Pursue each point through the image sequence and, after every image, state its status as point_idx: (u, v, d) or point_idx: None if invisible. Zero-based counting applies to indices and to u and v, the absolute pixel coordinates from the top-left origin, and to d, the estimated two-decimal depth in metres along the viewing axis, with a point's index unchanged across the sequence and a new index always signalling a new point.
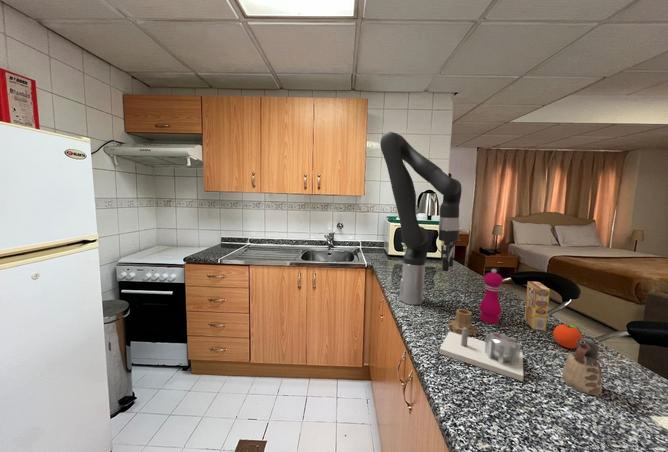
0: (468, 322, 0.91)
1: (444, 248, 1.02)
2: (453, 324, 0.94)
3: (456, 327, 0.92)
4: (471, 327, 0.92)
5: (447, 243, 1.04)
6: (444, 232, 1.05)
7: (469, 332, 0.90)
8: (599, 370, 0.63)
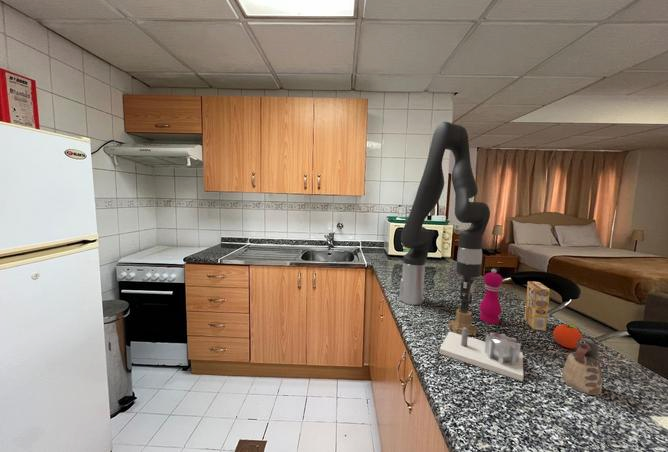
0: (468, 322, 0.91)
1: (464, 285, 0.86)
2: (453, 324, 0.94)
3: (456, 327, 0.92)
4: (471, 327, 0.92)
5: (467, 279, 0.88)
6: (464, 265, 0.89)
7: (469, 332, 0.90)
8: (599, 370, 0.63)
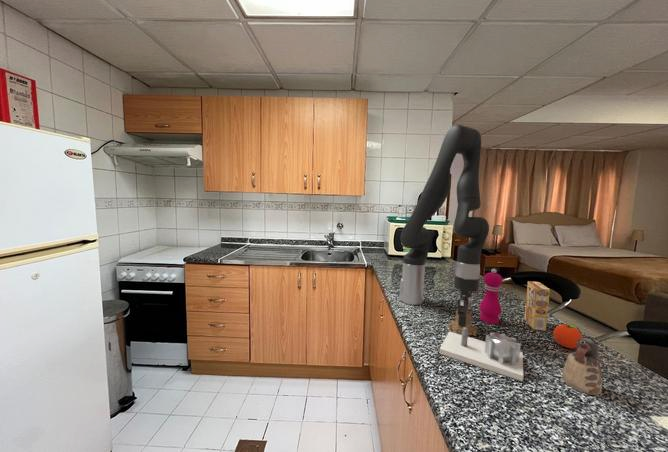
0: (468, 322, 0.91)
1: (461, 304, 0.87)
2: (453, 324, 0.94)
3: (456, 327, 0.92)
4: (471, 327, 0.92)
5: (465, 293, 0.89)
6: (462, 280, 0.89)
7: (469, 332, 0.90)
8: (599, 370, 0.63)
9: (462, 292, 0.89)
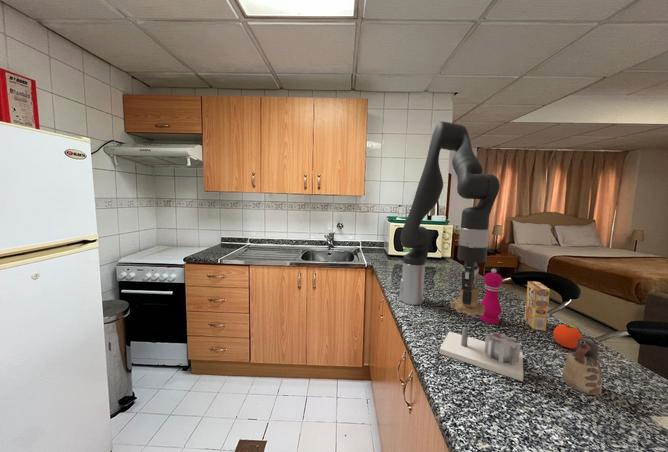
0: (474, 299, 0.77)
1: (466, 276, 0.73)
2: (456, 303, 0.80)
3: (460, 306, 0.78)
4: (478, 306, 0.78)
5: (470, 265, 0.75)
6: (467, 249, 0.75)
7: (476, 311, 0.76)
8: (599, 370, 0.63)
9: (467, 263, 0.75)
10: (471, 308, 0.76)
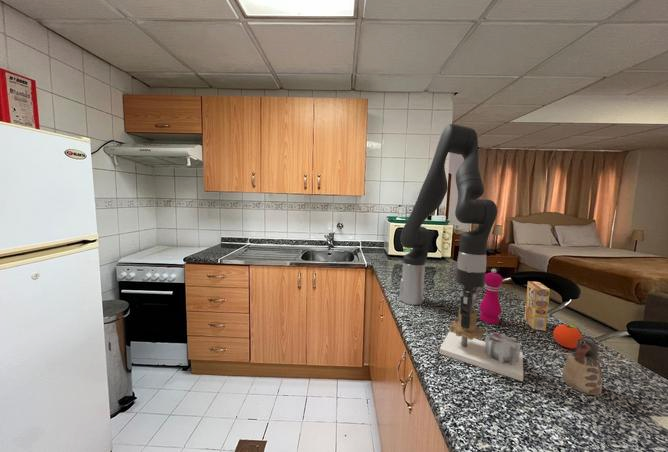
0: (473, 323, 0.77)
1: (465, 301, 0.74)
2: (455, 325, 0.80)
3: (459, 329, 0.78)
4: (476, 329, 0.79)
5: (468, 289, 0.75)
6: (465, 274, 0.76)
7: (474, 335, 0.76)
8: (599, 370, 0.63)
9: (465, 288, 0.76)
10: (470, 332, 0.77)
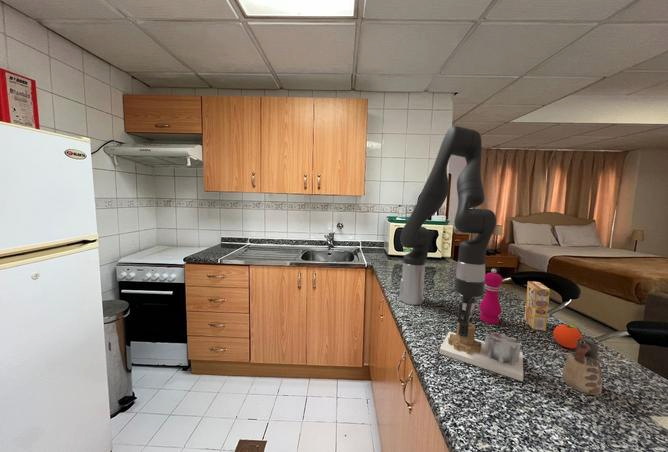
0: (471, 337, 0.78)
1: (463, 307, 0.73)
2: (453, 339, 0.81)
3: (457, 343, 0.79)
4: (474, 343, 0.79)
5: (467, 298, 0.76)
6: (464, 283, 0.76)
7: (472, 349, 0.77)
8: (599, 370, 0.63)
9: (464, 297, 0.76)
10: (468, 346, 0.77)
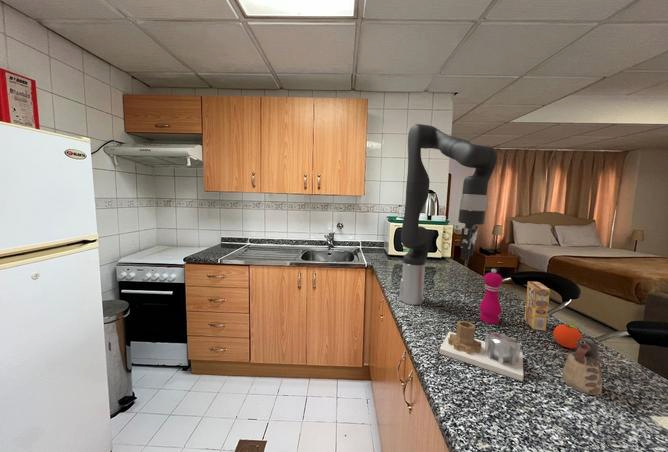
0: (471, 337, 0.78)
1: (465, 232, 0.82)
2: (453, 339, 0.81)
3: (457, 343, 0.79)
4: (474, 343, 0.79)
5: (469, 226, 0.84)
6: (466, 212, 0.84)
7: (472, 349, 0.77)
8: (599, 370, 0.63)
9: (466, 225, 0.85)
10: (468, 346, 0.77)
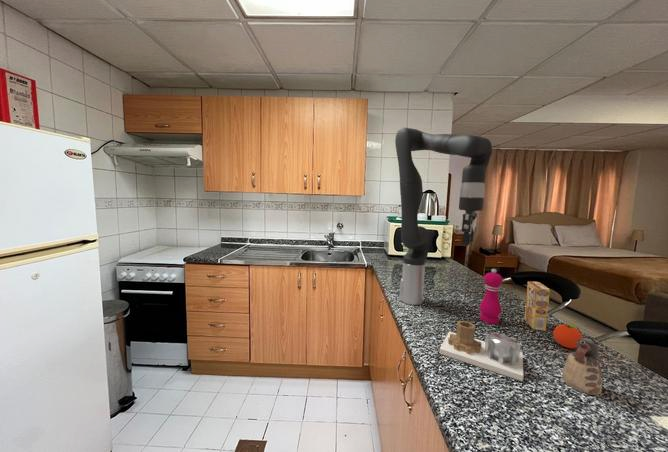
0: (471, 337, 0.78)
1: (466, 217, 0.87)
2: (453, 339, 0.81)
3: (457, 343, 0.79)
4: (474, 343, 0.79)
5: (469, 212, 0.89)
6: (466, 199, 0.89)
7: (472, 349, 0.77)
8: (599, 370, 0.63)
9: (467, 211, 0.90)
10: (468, 346, 0.77)
